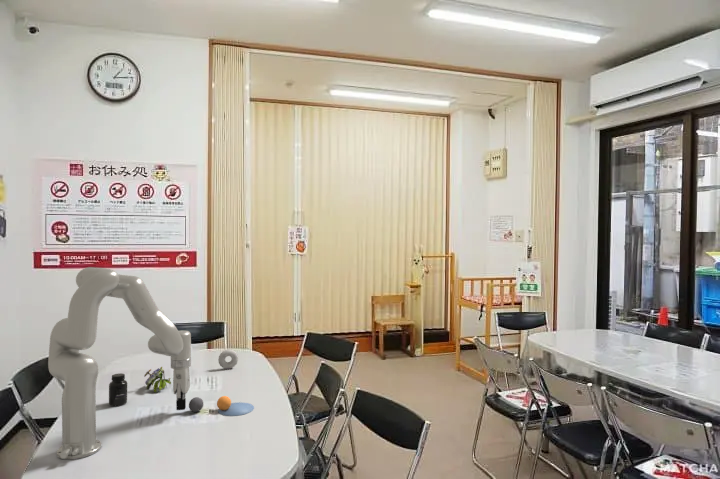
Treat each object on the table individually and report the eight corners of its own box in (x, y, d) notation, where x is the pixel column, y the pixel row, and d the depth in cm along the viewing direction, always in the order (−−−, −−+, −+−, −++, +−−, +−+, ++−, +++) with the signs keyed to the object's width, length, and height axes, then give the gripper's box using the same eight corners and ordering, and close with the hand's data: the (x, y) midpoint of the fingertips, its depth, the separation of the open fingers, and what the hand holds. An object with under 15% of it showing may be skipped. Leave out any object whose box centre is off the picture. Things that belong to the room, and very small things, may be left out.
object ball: (214, 410, 191) (227, 414, 192) (219, 397, 191) (232, 401, 192) (215, 405, 196) (228, 409, 197) (220, 392, 196) (233, 396, 197)
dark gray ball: (186, 403, 189) (191, 416, 189) (199, 397, 190) (205, 409, 191) (187, 399, 194) (192, 411, 195) (200, 393, 196) (205, 405, 196)
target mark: (253, 414, 190) (253, 414, 190) (216, 417, 187) (216, 416, 187) (254, 401, 203) (254, 401, 203) (219, 404, 201) (219, 403, 201)
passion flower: (148, 401, 219) (144, 376, 224) (174, 393, 223) (169, 369, 228) (145, 394, 210) (141, 368, 215) (172, 386, 214) (167, 360, 219)
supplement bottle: (119, 407, 196) (119, 378, 196) (105, 406, 198) (104, 376, 197) (131, 401, 203) (130, 373, 203) (116, 400, 204) (116, 371, 204)
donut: (218, 370, 247) (218, 351, 247) (218, 368, 250) (217, 349, 250) (238, 368, 251) (238, 349, 251) (237, 366, 254) (237, 347, 254)
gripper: (188, 367, 184) (188, 415, 184) (193, 357, 198) (193, 401, 199) (167, 368, 182) (167, 417, 183) (174, 358, 197) (174, 403, 197)
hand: (181, 409), depth 191 cm, fingers closed
